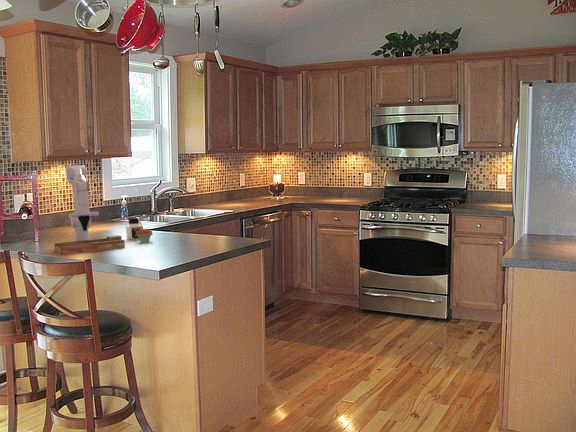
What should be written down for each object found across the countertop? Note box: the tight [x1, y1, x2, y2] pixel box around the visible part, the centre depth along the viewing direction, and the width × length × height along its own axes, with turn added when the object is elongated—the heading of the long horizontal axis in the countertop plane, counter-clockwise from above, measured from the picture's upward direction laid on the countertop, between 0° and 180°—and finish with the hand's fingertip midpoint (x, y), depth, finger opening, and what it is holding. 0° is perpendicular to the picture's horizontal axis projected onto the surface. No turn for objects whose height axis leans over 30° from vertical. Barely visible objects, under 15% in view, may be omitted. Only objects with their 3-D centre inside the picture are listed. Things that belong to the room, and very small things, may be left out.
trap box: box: [53, 237, 126, 256], centre depth 327 cm, size 14×32×4 cm, turn 122°
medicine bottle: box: [125, 216, 144, 241], centre depth 360 cm, size 7×7×12 cm
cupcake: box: [136, 221, 153, 243], centre depth 347 cm, size 9×8×12 cm
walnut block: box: [106, 234, 123, 241], centre depth 333 cm, size 6×6×3 cm
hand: (84, 230), depth 329 cm, fingers closed
